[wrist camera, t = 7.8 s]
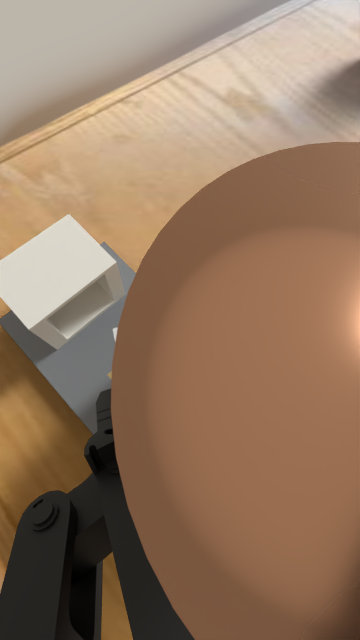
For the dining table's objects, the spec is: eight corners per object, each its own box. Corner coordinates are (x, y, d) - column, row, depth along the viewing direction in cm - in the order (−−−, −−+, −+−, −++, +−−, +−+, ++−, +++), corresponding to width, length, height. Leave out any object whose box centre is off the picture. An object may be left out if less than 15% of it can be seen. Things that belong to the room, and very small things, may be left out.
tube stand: (346, 491, 22) (423, 520, 15) (253, 619, 19) (301, 718, 13) (107, 251, 26) (90, 197, 20) (7, 326, 24) (-49, 292, 17)
